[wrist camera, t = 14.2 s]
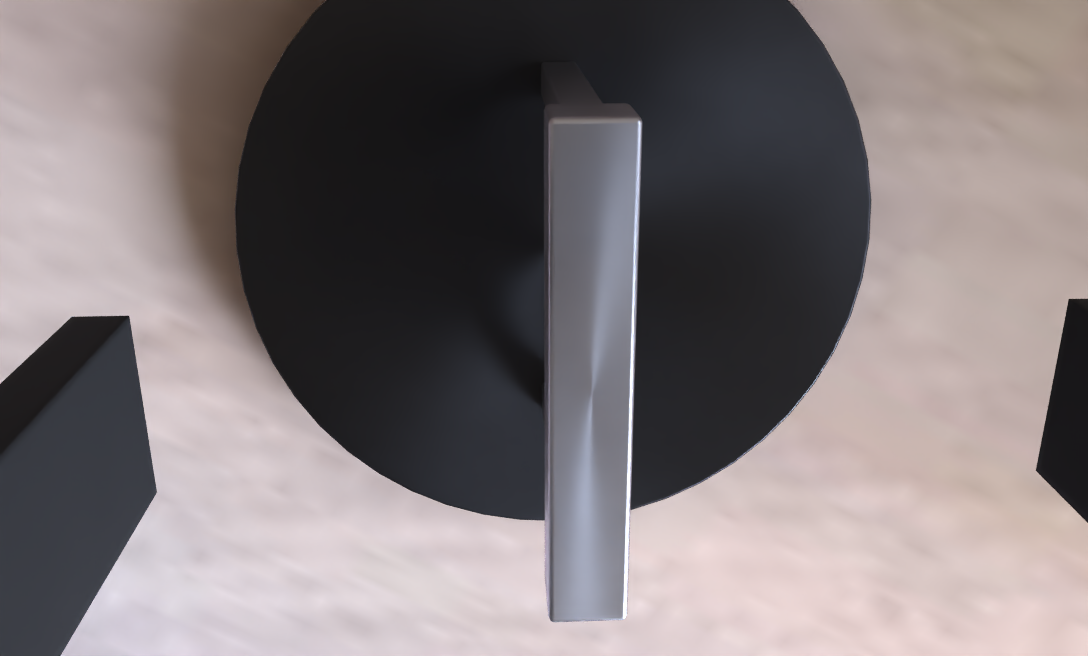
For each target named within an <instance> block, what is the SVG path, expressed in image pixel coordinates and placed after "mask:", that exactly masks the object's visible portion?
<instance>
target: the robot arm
mask: <svg viewBox="0 0 1088 656" xmlns="http://www.w3.org/2000/svg"><path fill="white" fill-rule="evenodd" d="M1036 471H1037V472H1038V473H1039V474H1040V475H1041V476H1042V477H1043V478H1044V479H1045V480H1046V481H1047V482H1048V483H1049V484H1050V485H1051V486H1052V487H1053V488H1054V489H1055V490H1056V491H1057V492H1058V493H1059V494H1060V495H1061V496H1062V497H1063V498H1064V499H1065V500H1066V501H1067V502H1068V503H1069V504H1070V505H1071V506H1072V507H1073V508H1074V509H1075V510H1076V511H1077V512H1078V513H1079V514H1080V515H1081V516H1082V517H1083V518H1084V519H1085V520H1086V521H1087V523H1088V299H1069V301H1068V306H1067V312H1066V317H1065V322H1064V327H1063V333H1062V338H1061V343H1060V348H1059V353H1058V359H1057V364H1056V369H1055V374H1054V379H1053V385H1052V390H1051V395H1050V400H1049V405H1048V411H1047V416H1046V421H1045V426H1044V431H1043V437H1042V442H1041V447H1040V452H1039V457H1038V463H1037V468H1036ZM156 493H157V491H156V484H155V478H154V471H153V465H152V459H151V452H150V446H149V440H148V433H147V427H146V420H145V414H144V408H143V401H142V395H141V389H140V382H139V376H138V369H137V363H136V357H135V350H134V344H133V338H132V331H131V325H130V318H129V316H93V317H71V318H70V319H69V320H68V321H67V322H66V323H65V324H64V325H63V326H62V327H61V328H60V329H58V330H57V331H56V332H55V333H54V334H53V335H52V336H51V337H50V338H49V339H48V340H47V341H46V342H45V343H44V344H42V345H41V346H40V347H39V348H38V349H37V350H36V351H35V352H34V353H33V354H32V355H31V356H30V357H29V358H27V359H26V360H25V361H24V362H23V363H22V364H21V365H20V366H19V367H18V368H17V369H16V370H15V371H14V372H13V373H11V374H10V375H9V376H8V377H7V378H6V379H5V380H4V381H3V382H2V383H1V384H0V656H60V655H61V654H62V652H63V650H64V649H65V647H66V645H67V644H68V642H69V640H70V639H71V637H72V635H73V633H74V632H75V630H76V628H77V627H78V625H79V623H80V622H81V620H82V618H83V617H84V615H85V613H86V611H87V610H88V608H89V606H90V605H91V603H92V601H93V600H94V598H95V596H96V595H97V593H98V591H99V589H100V588H101V586H102V584H103V583H104V581H105V579H106V578H107V576H108V574H109V573H110V571H111V569H112V567H113V566H114V564H115V562H116V561H117V559H118V557H119V556H120V554H121V552H122V550H123V549H124V547H125V545H126V544H127V542H128V540H129V539H130V537H131V535H132V534H133V532H134V530H135V528H136V527H137V525H138V523H139V522H140V520H141V518H142V517H143V515H144V513H145V512H146V510H147V508H148V506H149V505H150V503H151V501H152V500H153V498H154V496H155V495H156Z"/></svg>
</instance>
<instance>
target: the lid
mask: <svg viewBox="0 0 1088 656" xmlns="http://www.w3.org/2000/svg"><path fill="white" fill-rule="evenodd" d="M870 214H871V192H870V181H869V170H868V159H867V155H866V150H865V146H864V142H863V137H862V133H861V128H860V124H859V120H858V117H857V114H856V112H855V109H854V107H853V104H852V101H851V99H850V96H849V93H848V91H847V88H846V85H845V83H844V80H843V79H842V77H841V75H840V73H839V71H838V70H837V68H836V66H835V64H834V62H833V60H832V59H831V57H830V55H829V53H828V51H827V50H826V48H825V46H824V44H823V43H822V41H821V40H820V39H819V37H818V36H817V35H816V33H815V32H814V31H813V29H812V28H811V27H810V25H809V24H808V23H807V22H806V20H805V19H804V18H803V16H802V15H801V14H800V12H799V11H798V10H797V9H796V8H795V7H794V6H793V5H792V4H791V3H790V2H789V1H788V0H326V1H325V2H324V3H323V4H322V5H321V6H320V7H319V8H318V9H317V10H316V11H315V12H314V13H313V14H312V15H311V16H310V18H309V19H308V20H307V22H306V23H305V24H304V25H303V27H302V28H301V29H300V31H299V32H298V33H297V35H296V36H295V37H294V39H293V40H292V41H291V42H290V44H289V45H288V46H287V48H286V49H285V51H284V53H283V54H282V56H281V58H280V60H279V62H278V63H277V65H276V67H275V69H274V70H273V72H272V74H271V76H270V78H269V79H268V81H267V83H266V85H265V86H264V89H263V91H262V94H261V97H260V99H259V102H258V104H257V107H256V109H255V112H254V114H253V117H252V119H251V122H250V125H249V127H248V132H247V136H246V140H245V144H244V148H243V153H242V157H241V161H240V165H239V171H238V182H237V192H236V203H235V225H236V248H237V255H238V261H239V266H240V272H241V277H242V283H243V288H244V292H245V295H246V299H247V302H248V305H249V308H250V311H251V314H252V317H253V320H254V323H255V326H256V329H257V331H258V333H259V335H260V337H261V339H262V341H263V343H264V346H265V348H266V350H267V352H268V354H269V356H270V358H271V360H272V362H273V364H274V366H275V367H276V369H277V370H278V372H279V373H280V375H281V376H282V378H283V379H284V381H285V383H286V384H287V386H288V387H289V389H290V390H291V392H292V393H293V395H294V396H295V397H296V399H297V400H298V401H299V402H300V403H301V404H302V406H303V407H304V408H305V409H306V410H307V412H308V413H309V414H310V415H311V416H312V417H313V419H314V420H315V421H316V422H317V423H318V424H319V426H320V427H322V428H323V429H324V430H325V431H326V432H327V433H328V434H329V435H330V436H331V437H333V438H334V439H335V440H336V441H337V442H338V443H339V444H340V445H341V446H342V447H343V448H345V449H346V450H347V451H348V452H349V453H351V454H352V455H354V456H355V457H356V458H358V459H359V460H361V461H362V462H363V463H365V464H366V465H368V466H369V467H371V468H372V469H373V470H375V471H376V472H378V473H379V474H381V475H383V476H385V477H387V478H388V479H390V480H392V481H394V482H396V483H398V484H400V485H401V486H403V487H405V488H407V489H409V490H411V491H413V492H415V493H418V494H420V495H423V496H426V497H428V498H431V499H433V500H436V501H438V502H441V503H443V504H446V505H449V506H453V507H457V508H461V509H464V510H468V511H472V512H476V513H480V514H484V515H491V516H498V517H505V518H512V519H519V520H545V584H546V595H547V606H548V616H549V618H550V620H551V621H552V622H572V621H601V620H623V619H625V618H626V615H627V602H628V570H629V538H630V510H632V509H635V508H639V507H642V506H645V505H648V504H651V503H654V502H657V501H660V500H663V499H666V498H669V497H671V496H673V495H675V494H677V493H680V492H682V491H684V490H686V489H688V488H691V487H693V486H695V485H697V484H699V483H701V482H703V481H705V480H706V479H708V478H710V477H711V476H713V475H715V474H716V473H718V472H720V471H721V470H723V469H725V468H726V467H728V466H730V465H731V464H733V463H734V462H735V461H737V460H738V459H739V458H741V457H742V456H743V455H745V454H746V453H747V452H748V451H750V450H751V449H752V448H754V447H755V446H756V445H758V444H759V443H760V442H761V441H763V440H764V439H765V438H766V437H767V436H768V435H769V434H770V433H771V432H772V431H773V430H774V429H775V428H776V427H777V426H778V425H779V424H780V423H781V422H782V421H783V420H784V419H785V418H786V417H787V416H788V415H789V414H790V413H791V412H792V411H793V409H794V408H795V407H796V406H797V404H798V403H799V402H800V401H801V400H802V398H803V397H804V396H805V395H806V393H807V392H808V391H809V390H810V388H811V387H812V386H813V385H814V383H815V382H816V380H817V378H818V377H819V375H820V374H821V372H822V370H823V369H824V367H825V365H826V364H827V362H828V361H829V359H830V357H831V356H832V354H833V353H834V351H835V349H836V346H837V344H838V342H839V340H840V338H841V336H842V334H843V331H844V329H845V327H846V325H847V323H848V321H849V318H850V316H851V313H852V310H853V307H854V303H855V300H856V297H857V294H858V291H859V288H860V285H861V281H862V278H863V272H864V267H865V261H866V255H867V250H868V244H869V236H870Z"/></svg>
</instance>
